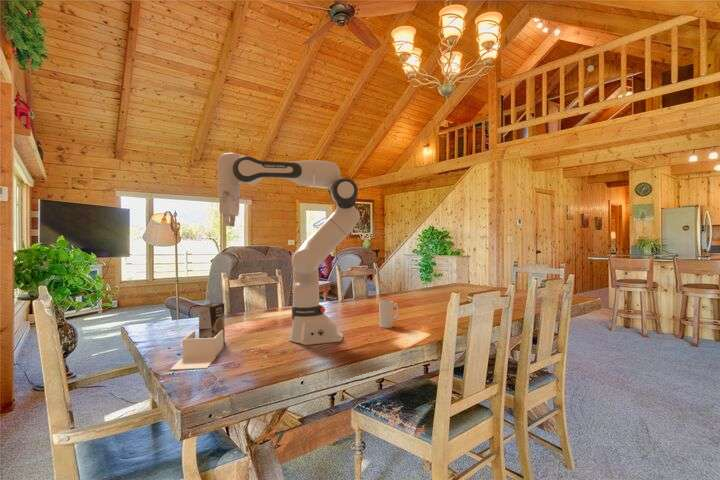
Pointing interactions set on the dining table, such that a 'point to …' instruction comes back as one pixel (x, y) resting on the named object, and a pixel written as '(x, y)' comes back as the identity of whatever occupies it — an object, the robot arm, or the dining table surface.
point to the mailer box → (199, 352)
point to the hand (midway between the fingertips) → (229, 226)
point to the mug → (387, 313)
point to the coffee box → (211, 320)
